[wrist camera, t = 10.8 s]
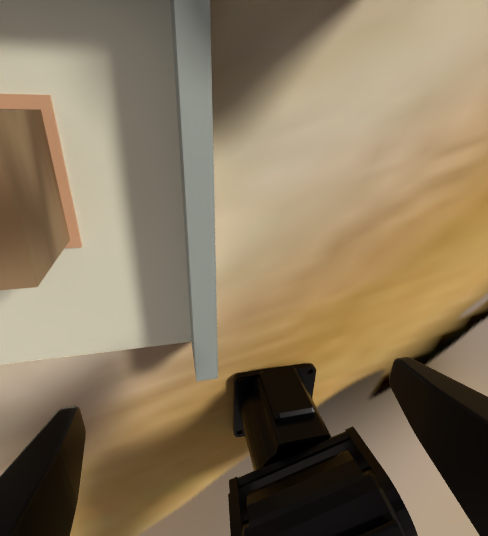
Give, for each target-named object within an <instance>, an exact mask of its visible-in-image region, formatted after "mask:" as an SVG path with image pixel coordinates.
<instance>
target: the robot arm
mask: <svg viewBox="0 0 488 536" xmlns="http://www.w3.org/2000/svg"><path fill="white" fill-rule="evenodd" d="M308 370H309V371H308ZM315 375H316V368H315V367H314V365H313V364H311V363H308V364H301V365H294V366H287V367H280V368H274V369H267V370H260V371H253V372H246V373H239V374H237V375H235V377H234V379H233V432H234V435H235V436H236V437H241V436H245V437H246V441H247V445H248V449H249V453H250V457H251V460H252V465H253V469H254V471H253V472H251V473H248V474H246V475H244V476H241V477H239V478H238V477H235V478H233V479H230V480H229V488H230V493H229V494H228V497H229V513H230V529H231V536H418V535H417V532H416V529H415V526H414V524H413V522H412V520H411V517H410V515H409V513H408V511H407V509H406V507H405V505H404V503H403V501H402V499H401V498H400V495H399V494H398V492H397V490H396V488H395V487H394V485H393V483H392V482H391V480H390V478H389V477H388V475H387V474H386V472H385V471H384V469H383V468H382V467H381V465H380V464H379V462H378V461H377V460H376V458H375V457H374V455H373V454H372V453H371V451H370V450H369V448H368V447H367V445H366V444H365V443H364V441H363V440H362V438H361V437H360V435H359V434H358V433H357V431H356V430H355V428H354V427H350V428H348V429H346V431H345V432H343V433H340V434H338V435H336V436H333V437H331V435H330V433H329V431H328V430H327V428H326V425H325V424H324V422H323V420H322V418H321V416H320V414H319V412H318V410H317V408H316V406H315V404H314V402H313V400H312V395H313V389H314V382H315ZM239 380H241V381H239ZM389 384H390V387H391V389H392V391H393V393H394V394H395V397H396V398H397V400H398V402H399V404H400V406H401V408H402V410H403V412H404V414H405V416H406V418H407V420H408V422H409V424H410V425H411V427H412V429H413V431H414V433H415V434H416V436H417V438H418V439H419V441H420V443H421V444H422V446H423V447H424V449H425V450H426V452H427V454H428V455H429V457H430V458H431V460H432V461H433V463H434V465H435V466H436V468H437V469H438V471H439V472H440V474H441V475H442V477H443V479H444V480H445V482H446V483H447V485H448V487H449V488H450V490H451V491H452V493H453V494H454V496H455V497H456V499H457V501H458V502H459V503H460V505H461V507H462V508H463V510H464V512H465V513H466V515H467V516H468V518H469V519H470V521H471V523H472V524H473V526H474V527H475V529H476V530H477V532H478V533H479V535H480V536H488V397H487V396H485V395H483V394H481V393H479V392H477V391H475V390H473V389H471V388H469V387H467V386H465V385H463V384H461V383H459V382H457V381H455V380H453V379H451V378H449V377H447V376H445V375H443V374H441V373H439V372H437V371H436V370H434V369H431V368H429V367H428V366H426V365H424V364H422V363H420V362H418V361H416V360H414V359H412V358H409V357H403V358H397V359H395V360H394V362H393V366H392V369H391V373H390V376H389ZM84 444H85V426H84V422H83V419H82V415H81V412H80V409H79V407H77V406H74V407H67V408H62V409H60V410H59V411H58V412H57V413H56V414H55V415H54V416H53V417H52V418H51V420H50V421H49V422H48V423H47V424H46V425H45V426H44V427H43V429H42V430H41V431H40V432H39V433H38V434H37V435H36V437H35V438H34V439H33V440H32V441H31V442H30V443H29V444H28V446H27V447H26V448H25V449H24V450H23V451H22V452H21V453H20V455H19V456H18V457H17V458H16V459H15V460H14V461H13V463H12V464H11V465H10V466H9V467H8V468H7V469H6V470H5V472H4V473H3V474H2V475H1V476H0V536H70V532H71V528H72V524H73V519H74V515H75V510H76V505H77V500H78V493H79V485H80V477H81V469H82V461H83V453H84Z"/></svg>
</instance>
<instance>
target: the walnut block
mask: <svg viewBox="0 0 488 536" xmlns="http://www.w3.org/2000/svg"><path fill="white" fill-rule="evenodd" d="M69 241H70V237H69V233H68V229H67V224H66V220H65V215H64V211H63V206H62V202H61V197H60V193H59V188H58V184H57V179H56V175H55V170H54V166H53V162H52V157H51V153H50V148H49V144H48V139H47V135H46V130H45V126H44V121H43V117H42V112H41V109H0V290H9V289H21V288H34V287H38V286H39V284H40V283H41V281H42V280H43V278H44V277H45V276H46V274H47V273H48V271H49V270H50V268H51V267H52V265H53V264H54V263H55V261H56V260H57V258H58V257H59V255H60V254H61V252H62V251H63V250H64V248H65V247H66V245H67V244H68V242H69Z"/></svg>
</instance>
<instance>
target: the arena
mask: <svg viewBox="0 0 488 536" xmlns="http://www.w3.org/2000/svg"><path fill="white" fill-rule="evenodd" d="M0 109H41V112H42V117H43V121H44V126H45V130H46V135H47V139H48V144H49V148H50V153H51V157H52V162H53V166H54V170H55V175H56V179H57V184H58V188H59V193H60V197H61V202H62V206H63V211H64V215H65V220H66V224H67V229H68V233H69V237H70V241H69V242H68V244H67V245H66V247H65V248H64V250H63V251H62V252H61V254H60V255H59V257H58V258H57V260H56V261H55V263H54V264H53V265H52V267H51V268H50V270H49V271H48V273H47V274H46V276H45V277H44V278H43V280H42V281H41V283H40V284H39V286H38V287H34V288H21V289H9V290H0V365H4V364H12V363H20V362H28V361H37V360H45V359H53V358H61V357H70V356H78V355H86V354H95V353H103V352H111V351H119V350H128V349H136V348H144V347H152V346H161V345H169V344H177V343H186V342H192V349H193V357H194V365H195V374H196V381H202V380H209V379H216V378H218V356H217V308H216V260H215V212H214V164H213V116H212V68H211V20H210V0H0Z"/></svg>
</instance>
